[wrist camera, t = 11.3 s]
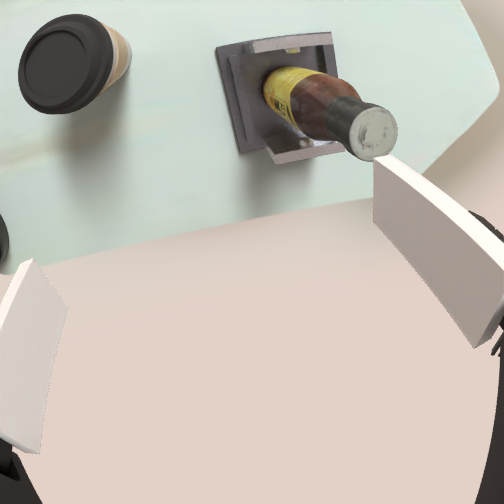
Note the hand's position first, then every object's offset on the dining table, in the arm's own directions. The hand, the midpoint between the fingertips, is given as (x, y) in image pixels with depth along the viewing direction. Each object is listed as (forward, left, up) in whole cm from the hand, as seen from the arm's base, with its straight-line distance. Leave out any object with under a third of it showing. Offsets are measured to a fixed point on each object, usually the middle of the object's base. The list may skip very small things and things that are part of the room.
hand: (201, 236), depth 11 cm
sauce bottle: (+11, -1, -29) cm, 31 cm away
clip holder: (+11, -1, -29) cm, 31 cm away
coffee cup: (-9, +9, -30) cm, 32 cm away
